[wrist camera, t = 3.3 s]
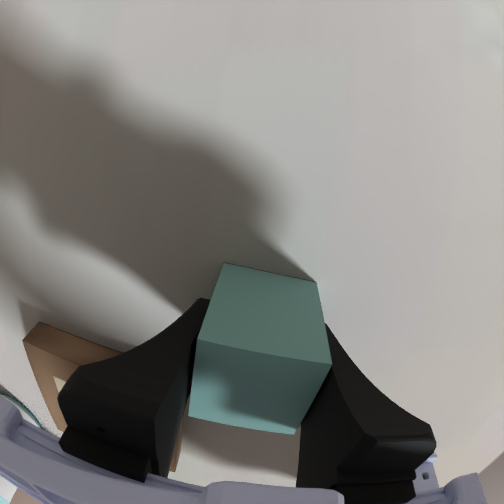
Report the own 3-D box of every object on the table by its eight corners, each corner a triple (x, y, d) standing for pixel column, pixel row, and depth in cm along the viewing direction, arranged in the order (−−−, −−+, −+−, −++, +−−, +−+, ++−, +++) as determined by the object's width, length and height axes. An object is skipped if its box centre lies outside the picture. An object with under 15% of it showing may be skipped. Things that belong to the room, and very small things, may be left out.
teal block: (316, 282, 13) (332, 364, 9) (291, 351, 15) (293, 434, 10) (223, 262, 13) (197, 338, 9) (211, 335, 15) (188, 416, 10)
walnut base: (187, 371, 16) (177, 399, 14) (180, 451, 20) (174, 473, 18) (39, 321, 16) (21, 341, 14) (67, 412, 20) (57, 430, 18)
